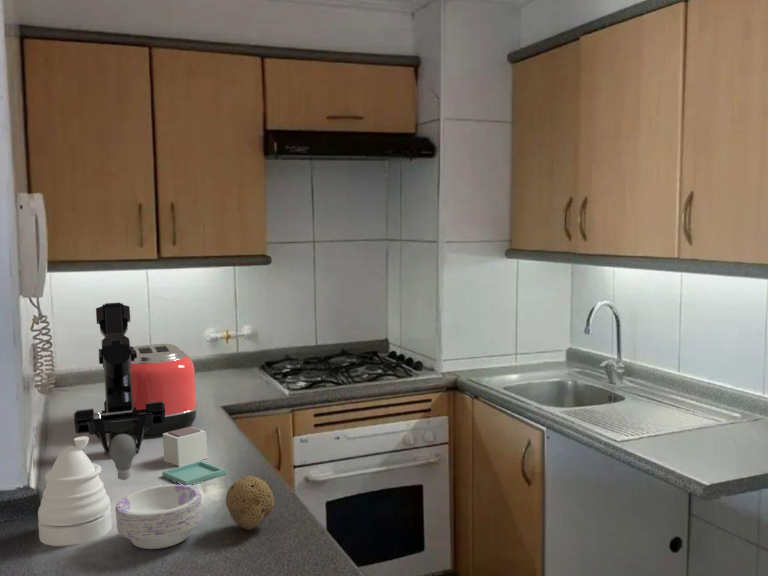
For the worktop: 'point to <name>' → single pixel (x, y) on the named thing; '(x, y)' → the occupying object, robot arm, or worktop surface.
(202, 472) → the tray
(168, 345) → the toaster
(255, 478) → the natural sponge
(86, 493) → the honey pot
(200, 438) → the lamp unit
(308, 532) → the worktop surface
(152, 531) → the paper bowls
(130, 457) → the light bulb
